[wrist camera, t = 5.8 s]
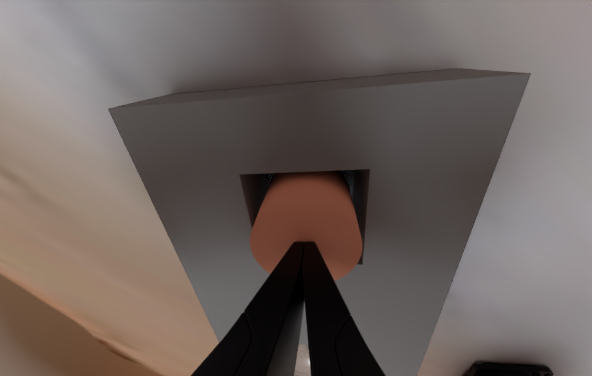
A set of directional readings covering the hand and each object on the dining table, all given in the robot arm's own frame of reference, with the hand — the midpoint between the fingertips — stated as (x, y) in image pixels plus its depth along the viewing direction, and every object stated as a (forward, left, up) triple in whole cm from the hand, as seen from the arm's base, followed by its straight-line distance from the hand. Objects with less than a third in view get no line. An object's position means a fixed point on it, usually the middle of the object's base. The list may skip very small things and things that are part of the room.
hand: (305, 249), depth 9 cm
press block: (0, +6, -6) cm, 9 cm away
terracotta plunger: (0, 0, -4) cm, 4 cm away
